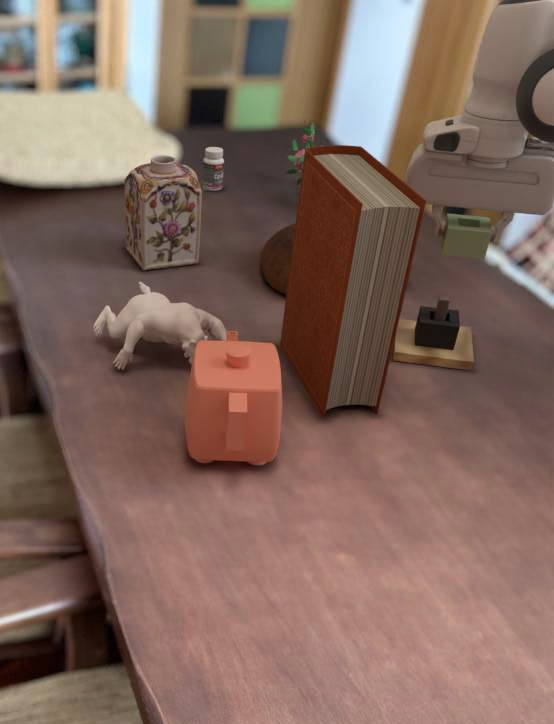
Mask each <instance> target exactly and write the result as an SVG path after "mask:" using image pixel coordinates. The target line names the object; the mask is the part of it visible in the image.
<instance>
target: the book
mask: <svg viewBox="0 0 554 724" xmlns="http://www.w3.org/2000/svg"><path fill="white" fill-rule="evenodd" d="M305 148H306V147H305ZM305 148H304V149H305ZM300 178H301V184H299V186H300V187H299V193H298V201H297V207H296V216H295V223H296V224H295V223H294V224H295V231H294V239H293V247H292V255H291V263H290V271H289V278H288V286H287V294H285V303H284V311H283V317H282V318H283V319H282V327H281V335H280V340H279V348H280V350H281V351H282V353H283V354H284V356H285V358H286V359H287V361H288V363H289V365H290V366H291V368H292V369H293V372H294V374H295V375H296V377H297V378H298V380H299V381H300V383H301V385H302V386H303V388H304V390H305V392H306V393H307V395H308V397H309V398H310V400H311V401H312V404H313V405H314V407H315V408H316V411H317V412H318V414H319V416H320V417H321V419H322V420H325V418H326V412H327V410H330V409H332V408H336V407H342V406H353V405H356V406H357V405H359V406H361V405H363V406H370V408H371V410H372V411H373V412H374V414H375V416H377V415H378V414H379V410H380V407H381V406H380V405H381V401H382V396H383V393H384V389H385V383H386V379H387V376H388V371H389V366H390V363H391V362H390V361H391V357H392V354H393V349H394V340H395V336H396V331H397V327H398V323H399V319H401V314H402V309H403V305H404V300H405V296H406V291H407V286H408V282H409V278H410V276H409V274H410V270H411V265H412V264H413V260H414V256H415V251H416V248H417V243H418V239H419V233H420V229H421V226H422V221H423V217H424V213H425V208H426V205H427V204H426V200H425V199H424V198H423V197H422V196H420V195H419V194H418V193H417V192H416V191H414V190H413V189H412V188H411V187H409V186H408V185H407V184H406V183H405V182H404V180H403V179H401V178H400V177H399V176H398V175H396V174H395V173H394V172H393V171H392V170H391V169H390V168H388V167H387V166H385V165H384V164H383V163H382V162H381V161H379V160H378V159H377V158H376V157H374V155H373V154H371V153H370V152H368V151H367V150H366V149H365V148H364V147H363V146H359V145H344V144H343V145H342V144H337V145H336V144H335V145H334V144H331V145H330V144H329V145H323V146H321V145H317V146H314V147H313V146H310V148H306V149H305V153H304V161H303V169H302V170H301V177H300ZM410 275H411V274H410Z"/></svg>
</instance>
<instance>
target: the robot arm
mask: <svg viewBox="0 0 554 724" xmlns="http://www.w3.org/2000/svg"><path fill="white" fill-rule="evenodd" d="M529 135H531V136H533V137H534V138H528V137H529ZM405 173H406V174H405V176H404V180H403V182H405V183H406V184H407V185H408V186H409V187H411V188H412V189H413V190H414V191H416V192H417V193H418V194H419V195H420V196H422V197H423V198H424V199H425V200H426V204H425V205H428V206H429V205H430V206H431V214H432V217H433V220H434V223H435V226H434V230H433V237H438V238H439V237H440V238H441V237H444V235H445V231H446V227H447V222H446V221H445V220H442V219H441V215H440V214H442V213H443V210H444V208H445V207H451V208H460V209H473V210H482V211H484V210H485V211H490V212H491V211H493V212H500V213H501V219H500V220H499V221H498V222H497V223H496V224H495V225H491V229H492V235H491V238H490V242H489V243H498V241H499V238H500V234H501V232H503V230H504V229H506V228H507V226H508V225H510V223H511V222H512V221H513V219H514V216H515V214H523V215H533V216H534V215H535V216H544V215H546V214H548V213H549V212H550V211H551V210H552V209H553V206H554V0H502V1H501V2H500V3H498V4H497V6H495V7H494V9H493V10H492V12H491V14H490V16H489V18H488V20H487V23H486V25H485V28H484V31H483V34H482V37H481V41H480V44H479V47H478V51H477V54H476V58H475V62H474V66H473V71H472V87H471V91H470V93H469V96H468V98H467V100H466V102H465V104H464V107H463V111H462V114H459V115H455V116H450V117H447V118H442V119H438V120H434V121H431V122H428V123H427V124H426V125H425V128H424V131H423V136H422V143H421V144H419V145H418V146H417V147H416V149H414V152H413V154H412V156H411V159H410V161H409V164H408V167H407V169H406V172H405Z"/></svg>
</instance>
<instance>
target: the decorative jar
mask: <svg viewBox="0 0 554 724" xmlns="http://www.w3.org/2000/svg"><path fill="white" fill-rule="evenodd" d="M201 188H202V187H201V184H200V182H199V179H198V175H197V173H196V171H195V170H193V169H192V167H190V166H188V165H185V164H182V163H177V158H175V156H172V155H167V154H159V155H155V156H152V157H151V158H150V162H149V163H143V164H140V165H138V166H136V167H134V168H133V169H131V170H130V171H129V172H128V174H127V175H126V176H125V178H124V241H125V242H124V243H125V249H126V251H127V252H128V253H129V254H130V255H131V257H132V258H133V259H134V261H135V262H136V263H137V264H138V266H139V267H140V268H141V270H142V271H143V272H144V271H150V270H158V269H167V268H175V267H182V266H190V265H196V264H198V263H199V258H200V244H201V230H202V228H201V224H202V201H203V200H202V197H203V196H202V195H203V191H202V189H201Z"/></svg>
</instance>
